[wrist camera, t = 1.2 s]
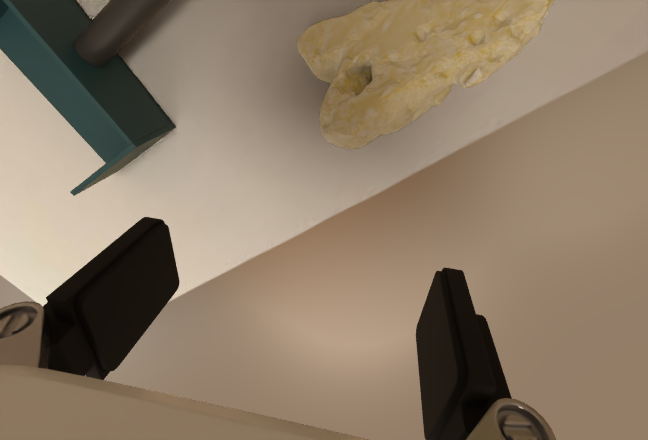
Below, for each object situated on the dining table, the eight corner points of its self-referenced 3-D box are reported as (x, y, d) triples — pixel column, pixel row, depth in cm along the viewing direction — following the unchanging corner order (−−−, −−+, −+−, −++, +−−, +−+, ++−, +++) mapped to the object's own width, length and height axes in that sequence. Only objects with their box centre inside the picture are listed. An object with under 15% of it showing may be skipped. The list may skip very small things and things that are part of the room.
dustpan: (-12, 31, 33) (-91, 33, 27) (114, -147, 24) (35, -195, 19) (117, 171, 39) (73, 195, 34) (253, 68, 31) (224, 79, 25)
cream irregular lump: (305, 119, 34) (409, 213, 27) (260, 81, 28) (379, 191, 21) (408, -11, 31) (555, 58, 24) (383, -87, 25) (573, -23, 18)
